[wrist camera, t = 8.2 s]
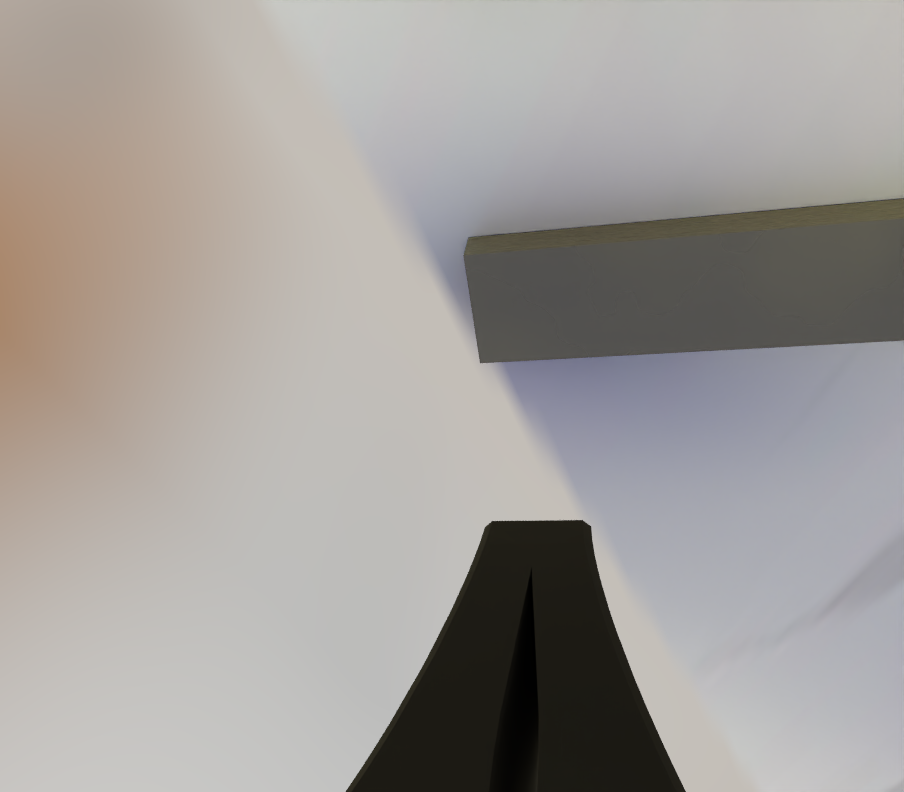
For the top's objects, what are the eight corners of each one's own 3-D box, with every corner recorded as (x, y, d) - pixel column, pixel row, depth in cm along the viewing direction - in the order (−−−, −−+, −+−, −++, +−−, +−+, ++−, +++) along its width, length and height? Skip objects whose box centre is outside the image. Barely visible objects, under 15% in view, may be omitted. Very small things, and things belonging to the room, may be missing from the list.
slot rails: (1039, 309, 16) (1063, 331, 16) (483, 342, 19) (480, 363, 18) (1330, -474, 10) (1400, -506, 9) (395, -257, 12) (383, -265, 11)
